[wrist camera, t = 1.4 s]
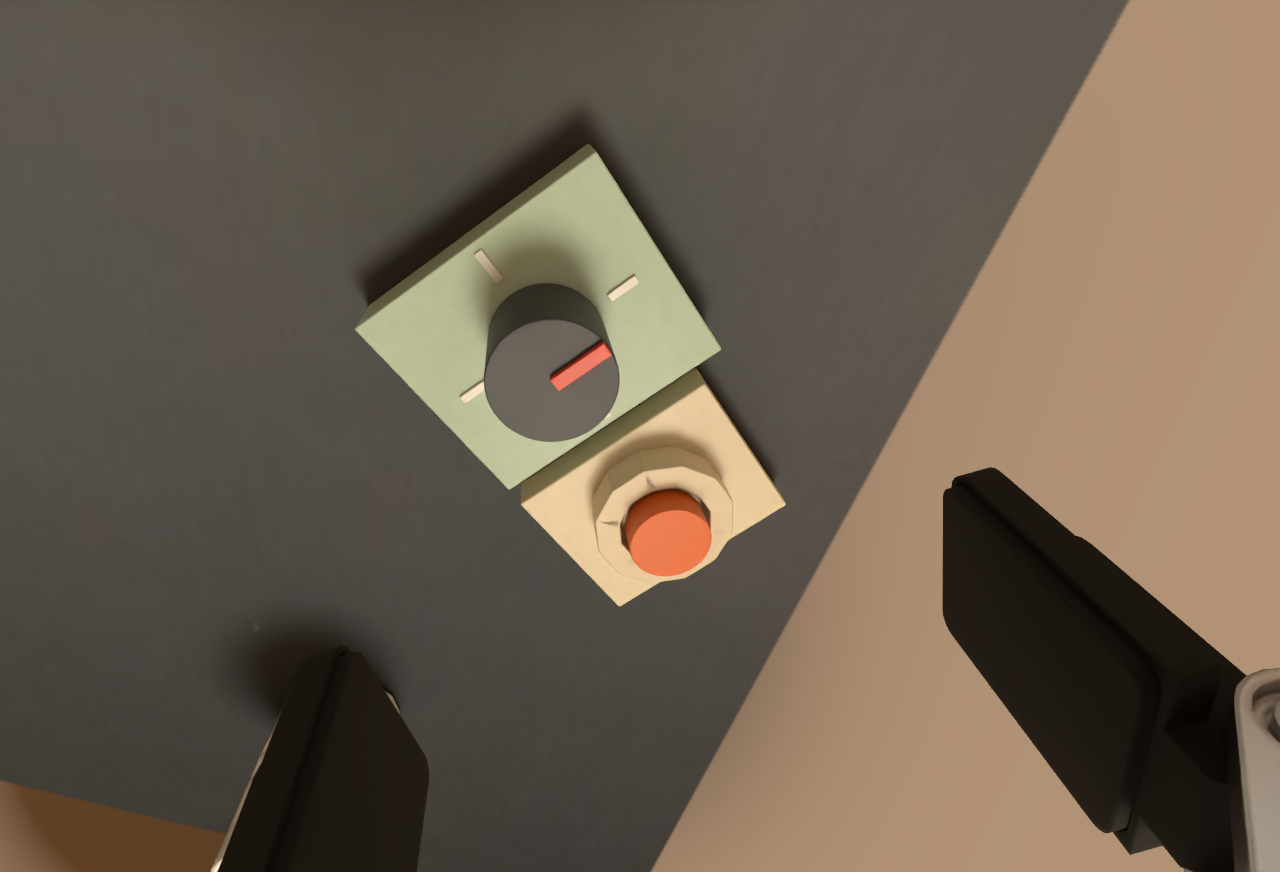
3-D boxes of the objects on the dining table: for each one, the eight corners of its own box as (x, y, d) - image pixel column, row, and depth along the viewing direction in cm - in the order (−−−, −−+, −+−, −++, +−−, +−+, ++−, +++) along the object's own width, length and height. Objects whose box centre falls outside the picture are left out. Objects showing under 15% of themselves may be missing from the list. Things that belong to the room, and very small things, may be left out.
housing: (614, 584, 40) (624, 633, 37) (519, 483, 36) (520, 528, 32) (774, 485, 38) (800, 526, 35) (695, 367, 34) (715, 401, 31)
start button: (652, 567, 35) (658, 589, 34) (609, 518, 33) (613, 540, 32) (717, 527, 35) (726, 548, 33) (677, 474, 33) (685, 494, 31)
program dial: (536, 414, 31) (539, 469, 26) (462, 328, 28) (453, 374, 24) (627, 351, 30) (646, 398, 26) (560, 258, 27) (568, 293, 23)
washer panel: (509, 458, 35) (508, 492, 32) (367, 306, 30) (352, 330, 27) (705, 327, 33) (723, 351, 30) (588, 142, 28) (596, 151, 26)
